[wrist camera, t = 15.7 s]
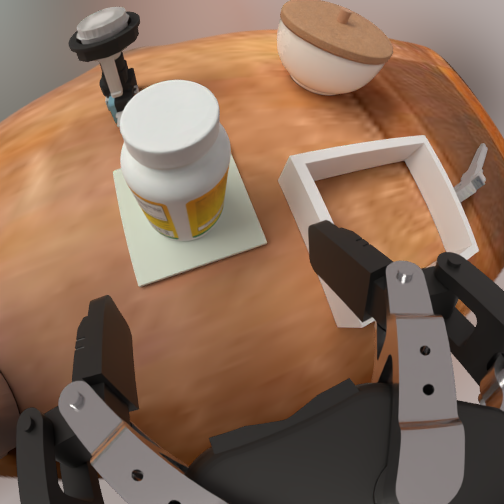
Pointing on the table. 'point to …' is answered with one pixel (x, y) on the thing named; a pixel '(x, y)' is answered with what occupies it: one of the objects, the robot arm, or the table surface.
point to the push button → (109, 53)
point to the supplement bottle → (176, 157)
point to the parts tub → (367, 156)
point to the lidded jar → (329, 47)
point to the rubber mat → (194, 251)
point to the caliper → (472, 175)
